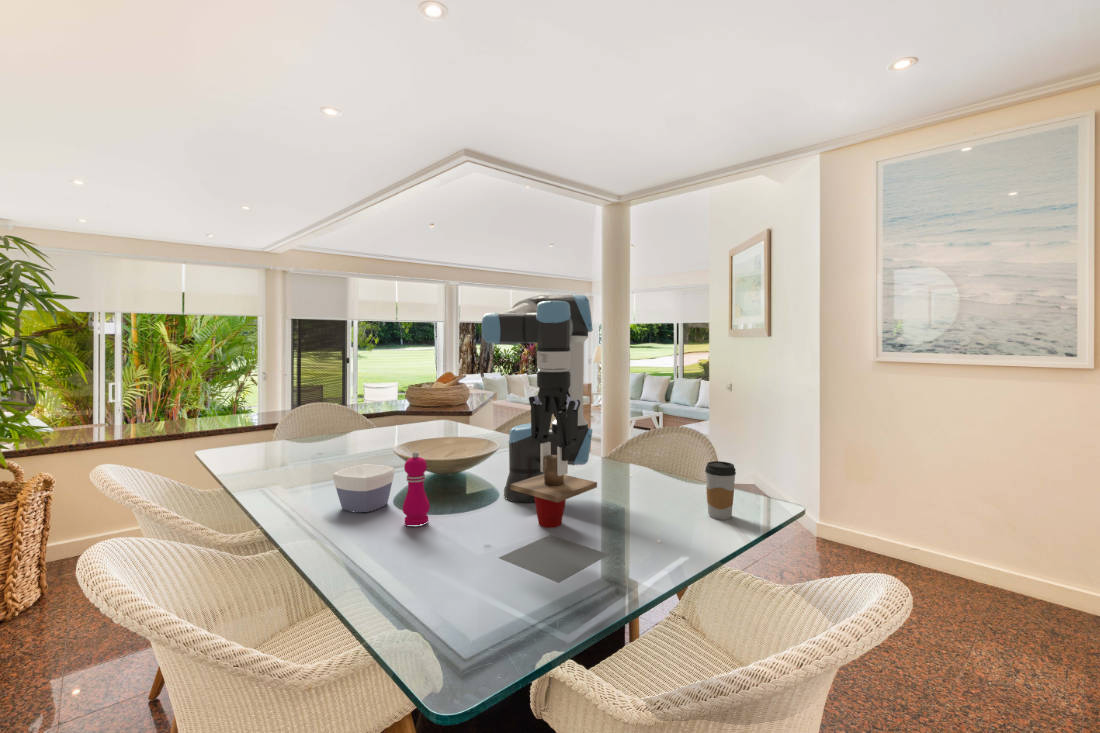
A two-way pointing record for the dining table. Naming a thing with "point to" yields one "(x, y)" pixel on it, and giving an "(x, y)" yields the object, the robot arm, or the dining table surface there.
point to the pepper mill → (416, 491)
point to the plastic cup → (549, 512)
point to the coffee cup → (720, 489)
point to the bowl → (364, 487)
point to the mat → (554, 557)
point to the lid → (553, 483)
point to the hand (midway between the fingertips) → (553, 472)
